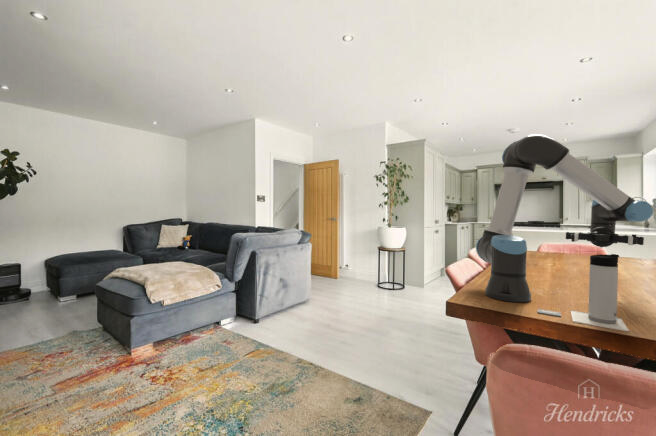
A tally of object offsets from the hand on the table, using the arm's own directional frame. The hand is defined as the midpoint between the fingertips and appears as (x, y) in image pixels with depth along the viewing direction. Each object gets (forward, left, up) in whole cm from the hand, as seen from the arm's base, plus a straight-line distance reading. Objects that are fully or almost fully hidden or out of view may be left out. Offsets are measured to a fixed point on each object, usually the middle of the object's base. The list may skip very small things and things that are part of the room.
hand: (602, 239), depth 100 cm
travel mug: (+9, -10, -24) cm, 27 cm away
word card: (0, -20, -24) cm, 31 cm away
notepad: (+8, -11, -24) cm, 27 cm away
